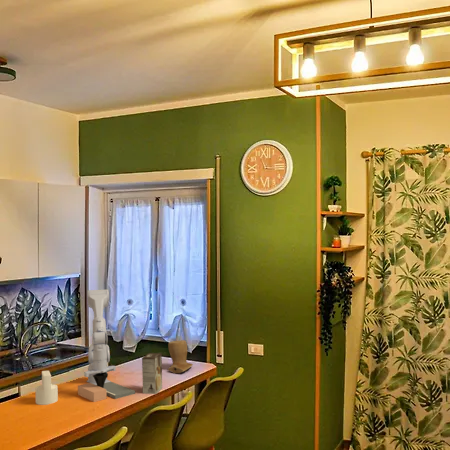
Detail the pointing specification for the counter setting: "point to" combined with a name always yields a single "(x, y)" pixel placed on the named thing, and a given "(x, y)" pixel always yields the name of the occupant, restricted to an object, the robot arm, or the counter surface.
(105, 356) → the robot arm
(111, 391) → the board
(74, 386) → the counter surface
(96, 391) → the tan rectangular block
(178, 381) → the counter surface
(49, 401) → the base with upright slab
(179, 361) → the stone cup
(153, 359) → the coffee box
